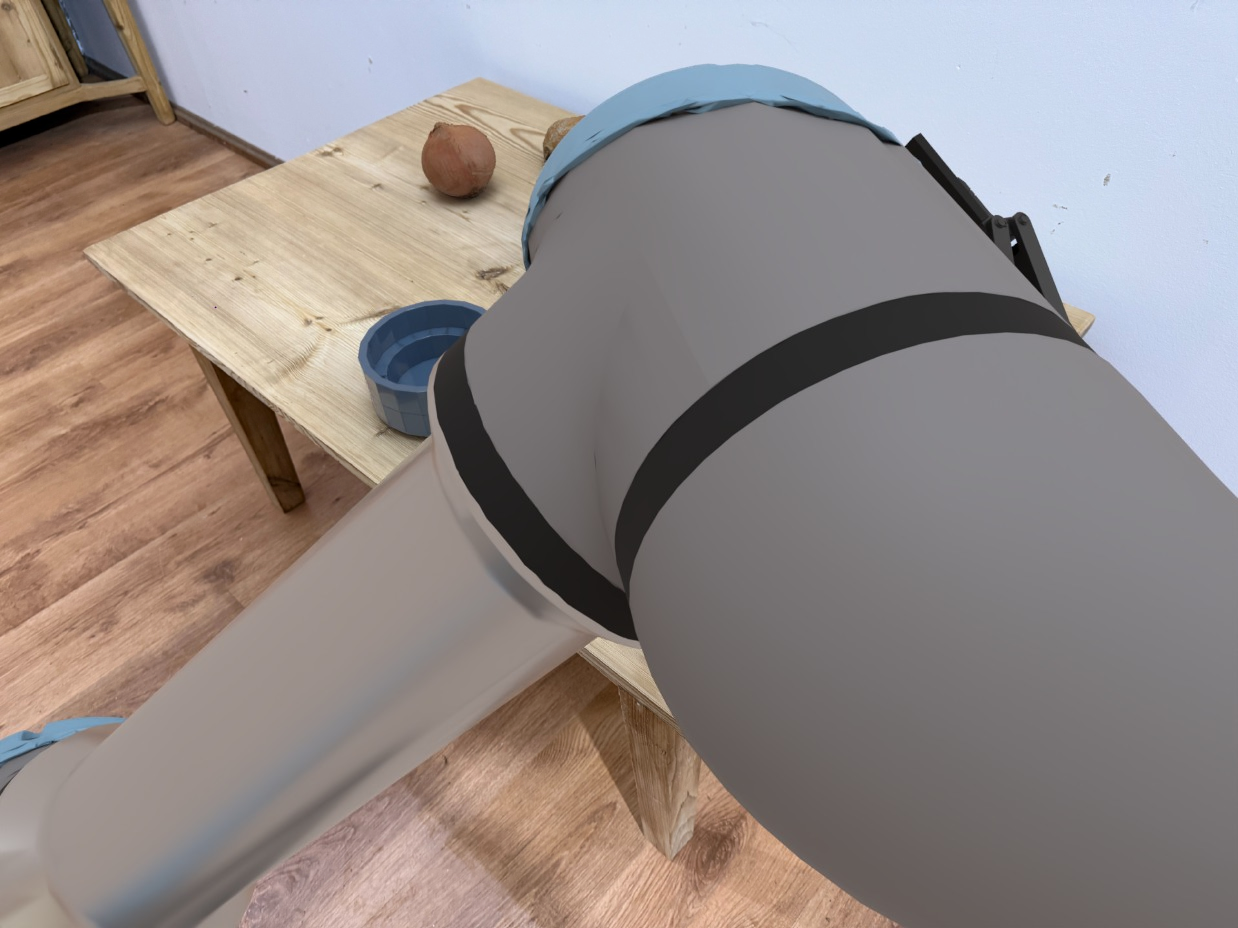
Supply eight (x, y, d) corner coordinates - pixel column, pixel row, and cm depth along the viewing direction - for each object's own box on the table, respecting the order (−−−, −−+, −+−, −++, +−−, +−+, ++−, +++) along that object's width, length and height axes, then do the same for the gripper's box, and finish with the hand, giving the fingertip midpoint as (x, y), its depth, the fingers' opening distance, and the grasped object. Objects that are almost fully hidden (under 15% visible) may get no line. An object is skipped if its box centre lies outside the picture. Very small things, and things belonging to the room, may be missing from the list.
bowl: (424, 464, 78) (409, 413, 73) (349, 393, 85) (331, 342, 81) (539, 394, 84) (532, 343, 79) (460, 333, 91) (449, 283, 87)
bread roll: (541, 183, 119) (517, 143, 112) (585, 129, 121) (564, 86, 114) (592, 206, 115) (570, 166, 108) (637, 150, 116) (618, 106, 109)
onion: (442, 208, 115) (402, 137, 110) (503, 174, 115) (466, 103, 110) (450, 218, 106) (407, 142, 102) (515, 182, 107) (476, 105, 102)
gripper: (894, 629, 45) (653, 315, 47) (1120, 404, 56) (918, 157, 58) (994, 604, 38) (708, 238, 40) (1229, 354, 49) (997, 76, 51)
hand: (832, 189), depth 49 cm, fingers open, 13 cm apart
